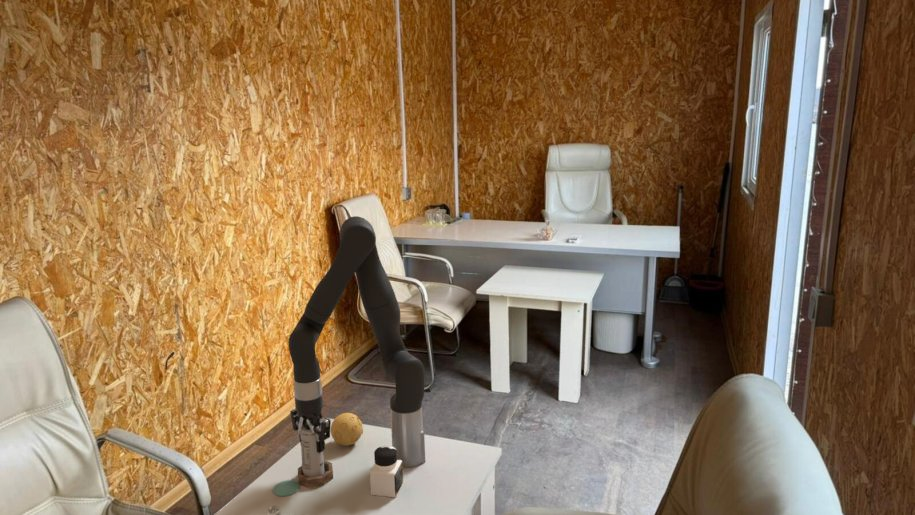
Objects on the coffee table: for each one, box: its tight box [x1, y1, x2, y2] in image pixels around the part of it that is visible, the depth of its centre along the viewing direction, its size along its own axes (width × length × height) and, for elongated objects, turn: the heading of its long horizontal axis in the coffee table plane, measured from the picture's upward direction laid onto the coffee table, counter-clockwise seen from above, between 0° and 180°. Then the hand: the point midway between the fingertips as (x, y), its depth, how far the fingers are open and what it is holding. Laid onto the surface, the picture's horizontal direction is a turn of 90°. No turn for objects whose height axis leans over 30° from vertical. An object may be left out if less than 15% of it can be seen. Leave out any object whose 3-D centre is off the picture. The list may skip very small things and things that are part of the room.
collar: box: [297, 460, 334, 489], centre depth 174 cm, size 10×10×2 cm
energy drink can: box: [300, 426, 325, 478], centre depth 173 cm, size 6×6×15 cm
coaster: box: [272, 479, 300, 497], centre depth 169 cm, size 7×7×1 cm
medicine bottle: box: [369, 445, 404, 498], centre depth 167 cm, size 7×7×12 cm
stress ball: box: [330, 412, 364, 447], centre depth 190 cm, size 10×10×10 cm
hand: (312, 448), depth 173 cm, fingers closed on energy drink can, 6 cm apart
